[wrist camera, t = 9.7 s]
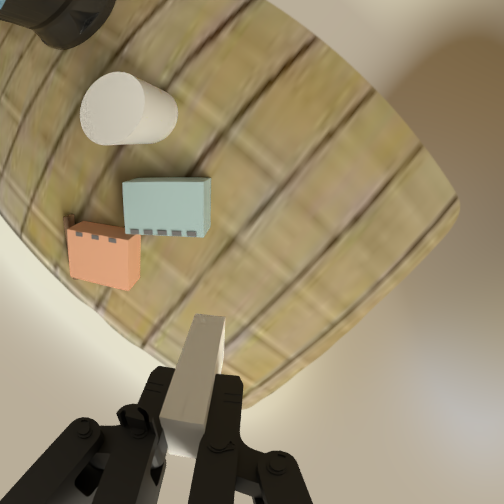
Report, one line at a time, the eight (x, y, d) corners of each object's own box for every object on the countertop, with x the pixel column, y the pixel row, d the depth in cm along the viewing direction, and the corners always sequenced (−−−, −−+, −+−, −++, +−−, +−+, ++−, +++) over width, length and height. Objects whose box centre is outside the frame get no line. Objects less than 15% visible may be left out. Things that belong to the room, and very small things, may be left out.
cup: (175, 83, 34) (142, 62, 23) (180, 138, 37) (148, 136, 26) (123, 96, 35) (78, 84, 24) (128, 148, 38) (83, 152, 26)
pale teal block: (137, 177, 39) (121, 182, 34) (211, 177, 39) (203, 182, 34) (139, 224, 42) (124, 234, 37) (210, 226, 41) (203, 237, 37)
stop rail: (69, 214, 41) (63, 217, 39) (74, 214, 41) (67, 217, 39) (78, 274, 45) (73, 279, 43) (82, 274, 45) (77, 279, 43)
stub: (83, 220, 42) (66, 229, 37) (141, 229, 42) (127, 240, 37) (85, 264, 45) (69, 277, 40) (140, 276, 45) (128, 291, 40)
